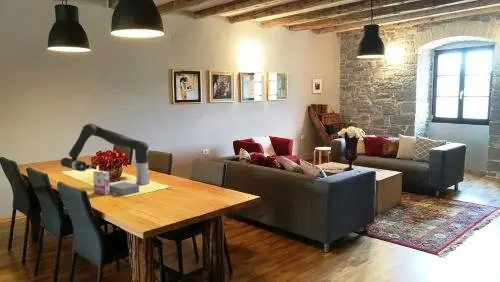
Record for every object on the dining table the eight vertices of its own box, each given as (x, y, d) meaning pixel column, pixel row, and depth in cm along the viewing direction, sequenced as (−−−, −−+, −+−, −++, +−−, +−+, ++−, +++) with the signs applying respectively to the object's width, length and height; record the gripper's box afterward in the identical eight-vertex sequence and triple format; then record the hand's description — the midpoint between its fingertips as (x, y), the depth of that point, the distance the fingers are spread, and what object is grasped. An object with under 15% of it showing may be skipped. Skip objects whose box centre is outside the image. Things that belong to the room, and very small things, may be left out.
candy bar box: (110, 194, 278) (109, 171, 276) (104, 195, 274) (104, 172, 272) (99, 192, 284) (98, 170, 282) (93, 193, 279) (92, 171, 277)
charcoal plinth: (125, 188, 295) (125, 182, 295) (139, 192, 285) (138, 185, 284) (108, 192, 284) (108, 185, 284) (122, 196, 274) (122, 189, 273)
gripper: (69, 162, 289) (81, 164, 279) (87, 159, 300) (99, 162, 290) (70, 171, 290) (81, 175, 280) (88, 169, 301) (99, 172, 291)
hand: (90, 168), depth 285 cm, fingers open, 8 cm apart
